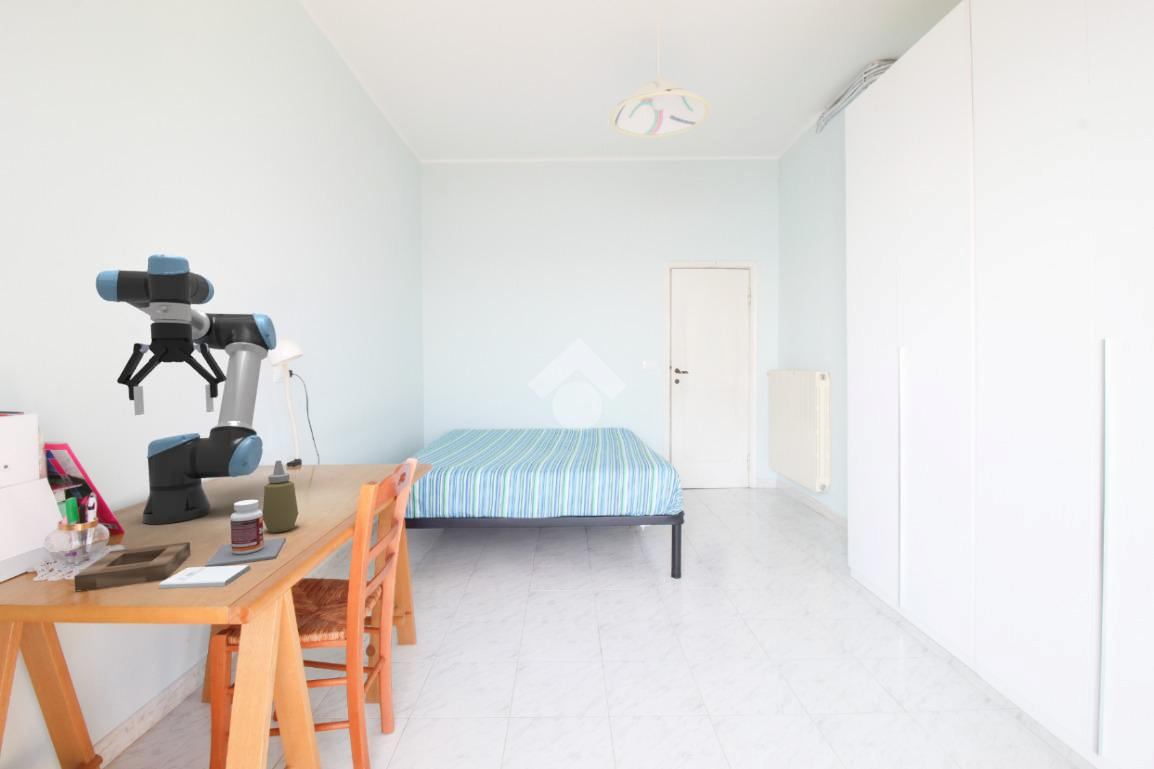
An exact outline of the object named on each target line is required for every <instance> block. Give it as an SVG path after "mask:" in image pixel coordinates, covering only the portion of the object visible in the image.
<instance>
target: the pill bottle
mask: <svg viewBox="0 0 1154 769" xmlns="http://www.w3.org/2000/svg"><path fill="white" fill-rule="evenodd" d="M259 504H260V503H259V500H258V499H246V500H240V501H236V502H234V503H233V511H235V512H233V513H232V514H231V515H230V521H229V522H230V544H231V550H232V553H234V554H248V553H252V552H256V551H258V550H260V549H262V548H263V546H264V540H265V539H264V521H263V510H262V509H261V510H260V509H258V508H259V506H260V505H259Z"/></svg>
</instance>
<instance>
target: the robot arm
mask: <svg viewBox="0 0 1154 769" xmlns="http://www.w3.org/2000/svg"><path fill="white" fill-rule="evenodd" d="M95 288H96V292H97V294H98V295H99V297H100V298H101V299H102V300H104V301H106V302H112V303H113V302H115V303H127V304H129V305H130V306H132V307H134V308H136V309H138V310H139V311H141V312H143V313H145V314H146V315H148V316H150V317H149V319H150V321H151V322H152V323H150V339H151V341H150V344H144V343H139V342H136V343H134V344H133V350H132V353H131V355H130V357H129V359H128V361H127V362H126V364H125V366H124V367H123V369H122V371H121V373H120V375H119V377H118V379H117V380H116V382H117V384H118V385H119V384H120V385H125V386H126V387H128V388H127V389H128V400H129V401H133V402H134V403H133V404H134V416H140V415H144V414H145V403H144V401H145V400H144V386H142V385H140V384H141V383H142V382H143V381H144V380H145V378H147V376H148V375H149V374H150V373H152V371H153V370H154V369H155V368H156V367H157V366H158V365H160V364H161V363H167V364H168V363H184V362H185V363H186V364H187V365H189V366H190V367H191V368H192V369H193V370H194V371H196V372H197V374H198V375H200V376H201V377H202V378H203V379H204V380H206V382H207V383H208V384H204V385H205V406H206V407H205V409H206V410H205V411H206V413H213V412H215V410H214V409H215V408H214V407H215V406H214V399H215V398H216V399H217V398H218V396H219V391H218V390H219V389H218V388H219V387H218V385H219V384H220V383H223V382H224V385H223V391H222V392H223V393H222V398H221V403H220V409H219V416H218V419H217V420H218V421H217V424H216V425H215V426H213V427H212V428H211V429H210V431H209V436H208V437H201V435H200V434H199V432H196V433H195V432H193V433H192V432H191V433H184V434H179V435H174V436H168V437H164V438H159V439H154V440H152V441H151V442H150V443H149V444H148V446H147V455H146V458H147V466H148V467H147V468H148V483H149V484H148V485H149V494H148V498H147V500H146V503H145V506H144V509H143V511H142V523H143V522H144V523H143V524H146V523H147V525H163V524H172V523H179V522H185V521H189V520H193V519H198V518H201V517H204V516H206V515H208V514H209V513H210V512H211V504H210V501H209V499H208V497H207V494H206V492H205V490H204V489H203V486H202V483H203V482H202V479H212V478H213V479H214V478H230V477H232V478H237V477H243V476H249V475H252V474H253V473H254V472H255V471H256V470H257V469H258V467H259V465H260V463H261V461H262V460H261V459H262V456H263V450H264V449H263V440H262V438H261V437H260V436H259V435H258V434H257V431H256V430H255V428H253V421H254V414H255V409H256V400H257V393H258V386H259V378H260V372H261V364H262V360H264V359H266V358H267V357H268V355H269V351H272V350H275V349H276V347H277V333H276V329H275V325H274V323H273V320H272V319H271V317H270V316H268V314H267V315H266V314H260V313H259V314H258V313H257V314H256V313H254V312H253V313H209V312H207V313H206V312H203V311H201V310H198V309H194V308H193V309H192V306H191V305H204V304H208V303H209V302H210V301H212V299H213V297H214V295H215V287H214V285H213V283H212V282H211V281H210V280H209V279H208V278H206V277H204V276H202V275H201V274H198V273H195V272H192V271H191V268H190V263H189V260H188V259H187V258H185V257H182V256H181V255H179V256H178V255H174V254H158V253H157V254H152V255H150V256H149V257H148V259H147V269H146V271H143V270H122V269H121V270H120V269H117V270H115V269H114V270H103V271H101V272H99V273H98V274H97V276H96V278H95ZM210 349H212V350H220V351H221V350H224V351H225V353H226V354H227V355H228V356H229V358H228V362H227V367H226V369H227V370H226V375H225V373H224V371H223V370H222V368H221V367H220V366H219V364H218V363H217V361H216V359H215V358H214V356H213V355H212V353H211V350H210ZM195 350H196V351H197V352H198V353H200V354H201V355H202V358H203V359H204V361H205V362H206V363H207V366H208V367H209V369H210V370H211V371H212V373H213V374H214V376H213V374H211V373H210V372H209V371H208V370H207V369H206V368H205V367H204V366H203V365H202V364H201V363H200V362H198V360H197V359H196V358H195V357H193V355H192V354H193V353H194V352H195ZM148 351H150V352H151V353H152V354H153V355H152V356H151V357H150V358H149V359H148V361H147V362H146V364H144V365H143V366H142V367H141V368H140V369H139V370H138V371H137V372H136V373H135V371H136V370H137V367H138V366H139V365H140V363H141V360H142V359H143V357H144V355H145V354H147V352H148ZM134 373H135V374H134ZM133 374H134V376H133Z"/></svg>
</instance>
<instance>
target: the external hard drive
mask: <svg viewBox="0 0 1154 769" xmlns="http://www.w3.org/2000/svg"><path fill="white" fill-rule="evenodd" d="M250 570H251V565H250V564H248V565H247V564H246V565H244V564H243V565H242V564H240V565H224V566H214V567H205V566H196V567H195V566H191V567H186V568H184V569H182V570H181V571H179V572H177V573H176V574H173V575H170V576H169V577H168V578H167V579H164V580H161V582H160V583H158V589H180V588H181V589H182V588H183V589H184V588H187V589H188V588H189V589H190V588H213V587H214V588H215V587H226V586H227V585H229V584H231V583H232V582H233V581H235V580H237V579H238V578H239V577H241V576H243V575H244V574H246V573H247V572H248V571H250Z"/></svg>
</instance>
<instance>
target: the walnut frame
mask: <svg viewBox="0 0 1154 769" xmlns="http://www.w3.org/2000/svg"><path fill="white" fill-rule="evenodd" d="M190 556H191V541H186V542H178V543H169V544H160V545H152V546H143V547H134V548H127V549H118V550H117V549H116V550H111V551H109V552H108V553H106V554H105V555H104V556H102V557H101V558H99V559H98V560H96V561H95V562H93V563H92V564H90V565H88V566H87V567H86V568H85V569H83V570H82V571H80V572H79V573H77V574H75V575H74V576H73V577H74V590H75V591H77V590H85V591H88V590H87V589H92V590H97V589H96V588H99V589H104V588H103V587H106V588H113V587H120V586H126V585H135V584H142V583H147V582H149V583H150V582H155V581H164V580H166V579H168V578H170V577H171V575H172V574H173V573H174V572H175V571H176V570H177V569H178V568H179V567H180V566H181V565H183V563H184V562H185V561H186V560H187V559H188V558H189V557H190ZM170 574H171V575H170ZM75 591H74V592H75ZM77 592H78V591H77Z"/></svg>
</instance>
